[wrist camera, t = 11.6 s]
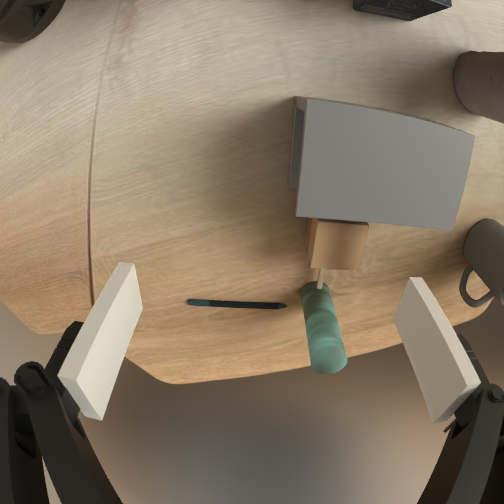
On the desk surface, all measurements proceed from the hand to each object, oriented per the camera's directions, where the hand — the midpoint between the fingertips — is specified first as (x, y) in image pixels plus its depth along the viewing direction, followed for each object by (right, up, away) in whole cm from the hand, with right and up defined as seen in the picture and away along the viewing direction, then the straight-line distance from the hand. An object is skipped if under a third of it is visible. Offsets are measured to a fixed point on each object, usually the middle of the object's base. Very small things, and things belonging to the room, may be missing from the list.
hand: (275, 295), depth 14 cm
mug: (+36, +2, +28) cm, 46 cm away
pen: (-4, -6, +35) cm, 35 cm away
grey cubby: (+13, +15, +21) cm, 29 cm away
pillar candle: (+30, +25, +15) cm, 42 cm away
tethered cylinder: (+9, +1, +29) cm, 31 cm away
